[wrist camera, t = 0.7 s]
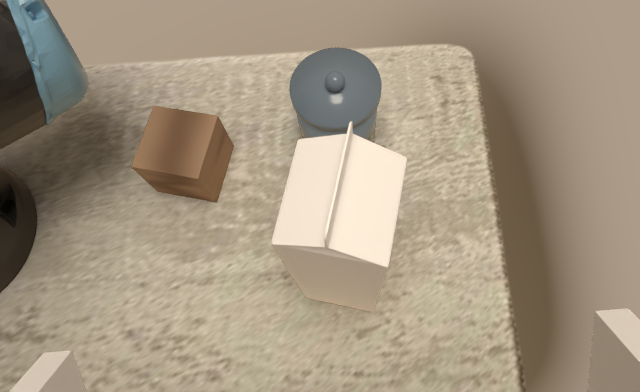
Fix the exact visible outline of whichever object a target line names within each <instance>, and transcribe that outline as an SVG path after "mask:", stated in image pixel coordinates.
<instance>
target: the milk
mask: <svg viewBox="0 0 640 392" xmlns="http://www.w3.org/2000/svg"><path fill="white" fill-rule="evenodd" d="M406 164H407V158H406V157H404V156H402V155H400V154H398V153H395V152H393V151H391V150H389V149H386V148H384V147H382V146H380V145H377V144H375V143H373V142H371V141H368V140H366V139H364V138H362V137H359V136H357V135H355V134H353V125H352V122H351V121H350V123H349V126H348V131H347V134H339V135H331V136H322V137H313V138H305V139H299V140H298V141H297V145H296V148H295V152H294V156H293V160H292V164H291V168H290V172H289V175H288V179H287V183H286V187H285V191H284V195H283V198H282V202H281V206H280V210H279V214H278V218H277V222H276V225H275V229H274V233H273V237H272V241H271V244H272V246H273V248H274V249H275V251H276V252H277V254H278V255H279V257H280V258H281V260H282V261H283V263H284V264H285V266H286V268H287V269H288V271H289V272H290V274H291V275H292V277H293V278H294V280H295V281H296V283H297V284H298V286H299V288H300V289H301V291H302V292H303V294H304V295H305V297H306V298H309V299H314V300H319V301H323V302H328V303H333V304H337V305H342V306H347V307H351V308H356V309H361V310H365V311H370V312H373V311H374V308H375V305H376V302H377V299H378V296H379V293H380V291H381V288H382V285H383V282H384V279H385V276H386V273H387V270H388V267H389V262H390V257H391V251H392V245H393V239H394V233H395V228H396V222H397V216H398V210H399V204H400V199H401V193H402V187H403V181H404V175H405V170H406Z"/></svg>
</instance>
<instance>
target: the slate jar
mask: <svg viewBox="0 0 640 392" xmlns="http://www.w3.org/2000/svg"><path fill="white" fill-rule="evenodd" d="M290 96H291V100H292V104H293V107H294V109H295V111H296V112H297V116H298V121H299V125H300V130H301V135H302V139H305V138H313V137H322V136H331V135H339V134H347V131H348V126H349V123H350V121H351V122H352V125H353V134H355V135H357V136H359V137H362V138H364V139H366V140H368V141H371V142H373V143H374V137H375V126H376V115H377V106H378V104H379V101H380V97H381V78H380V75H379V72H378V70H377V68H376V67H375V65H374V64H373V63H372V62H371V61H370V60H369V59H368V58H367V57H366V56H364V55H362V54H361V53H359V52H356V51H354V50H351V49H346V48H328V49H323V50H320V51H317V52H315V53H313V54H311V55H309V56H308V57H306V58H305V59H304V60H303V61H302V62H301V63H300V64H299V65H298V66H297V68H296V69H295V71H294V73H293V75H292V77H291V81H290Z"/></svg>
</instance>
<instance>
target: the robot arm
mask: <svg viewBox="0 0 640 392" xmlns="http://www.w3.org/2000/svg"><path fill="white" fill-rule="evenodd" d="M87 89H88V78H87V74H86V72H85V70H84V68H83V66H82V64H81V63H80V61H79V59H78V57H77V55H76V54H75V52H74V50H73V48H72V46H71V45H70V43H69V41H68V39H67V38H66V36H65V34H64V33H63V31H62V29H61V27H60V26H59V24H58V22H57V21H56V19H55V17H54V16H53V14H52V12H51V10H50V9H49V7H48V6H47V4H46V2H45V1H44V0H0V149H2V148H3V147H5V146H7V145H9V144H11V143H13V142H14V141H16V140H18V139H20V138H22V137H24V136H26V135H27V134H29V133H31V132H33V131H35V130H37V129H39V128H40V127H42V126H44V125H48V124H50V123H52V121H53V119H54V118H55V117H57V116H58V115H60V114H61V113H63V112H64V111H66V110H67V109H69V108H70V107H72V106H74V105H75V104H77V103H78V102H80V101H81V100H82V99H83V97H84V95H85V94H86V92H87ZM35 230H36V209H35V204H34V201H33V198H32V195H31V193H30V191H29V190H28V188H27V186H26V185H25V184H24V182H23V181H22V180H21V179H20V178H18V177H17V176H16V175H15V174H13V173H12V172H10V171H8V170H7V169H5V168H3V167H1V166H0V291H1V290H2V289H4V288H5V287H6V286H7V285H8V284H9V282H10V281H11V280H12V279H13V278H14V277H15V275H16V274H17V273H18V271H19V270H20V268H21V267H22V265H23V263H24V262H25V260H26V258H27V256H28V254H29V251H30V249H31V246H32V243H33V239H34V235H35ZM9 392H87V391H86V388H85V385H84V383H83V380H82V377H81V374H80V372H79V369H78V366H77V363H76V360H75V358H74V355H73V352H72V350H71V351H58V352H45V353H43V354H42V355H41V357H40V358H39V359H38V360H37V361H36V362H35V363H34V364H33V366H32V367H31V368H30V369H29V370H28V371H27V372H26V373H25V375H24V376H23V377H22V378H21V379H20V380H19V381H18V382H17V384H16V385H15V386H14V387H13V388H12V389H11V390H10V391H9ZM587 392H640V320H639V319H638V318H637V317H636V316H635V315H634V314H633V313H632V312H631V311H630V310H629V309H616V310H603V311H595V315H594V325H593V337H592V347H591V357H590V368H589V378H588V388H587Z"/></svg>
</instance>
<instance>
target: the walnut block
mask: <svg viewBox="0 0 640 392" xmlns="http://www.w3.org/2000/svg"><path fill="white" fill-rule="evenodd" d="M233 147H234V145H233V143H232V141H231V140H230V138H229V136H228V134H227V132H226V130H225V128H224V126H223V125H222V123H221V121H220V119H219V117H218V116H215V115H209V114H203V113H196V112H190V111H184V110H178V109H171V108H165V107H159V106H154V107H153V109H152V112H151V115H150V117H149V120H148V123H147V125H146V128H145V131H144V133H143V136H142V139H141V141H140V144H139V147H138V150H137V152H136V155H135V158H134V160H133V163H132V166H131V167H132V168H133V169H134V170H135V171H136V172H137V173H138V174H139V175H141V176H142V177H143V178H144V179H145V180H146V181H147V182H148V183H149V184H150V185H151V186H153V187H154V188H155V189H156V190H157V191H158V192H164V193H169V194H174V195H180V196H185V197H191V198H196V199H202V200H207V201H212V202H217V201H218V198H219V194H220V191H221V188H222V184H223V181H224V177H225V174H226V171H227V167H228V164H229V161H230V157H231V154H232V151H233Z"/></svg>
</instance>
